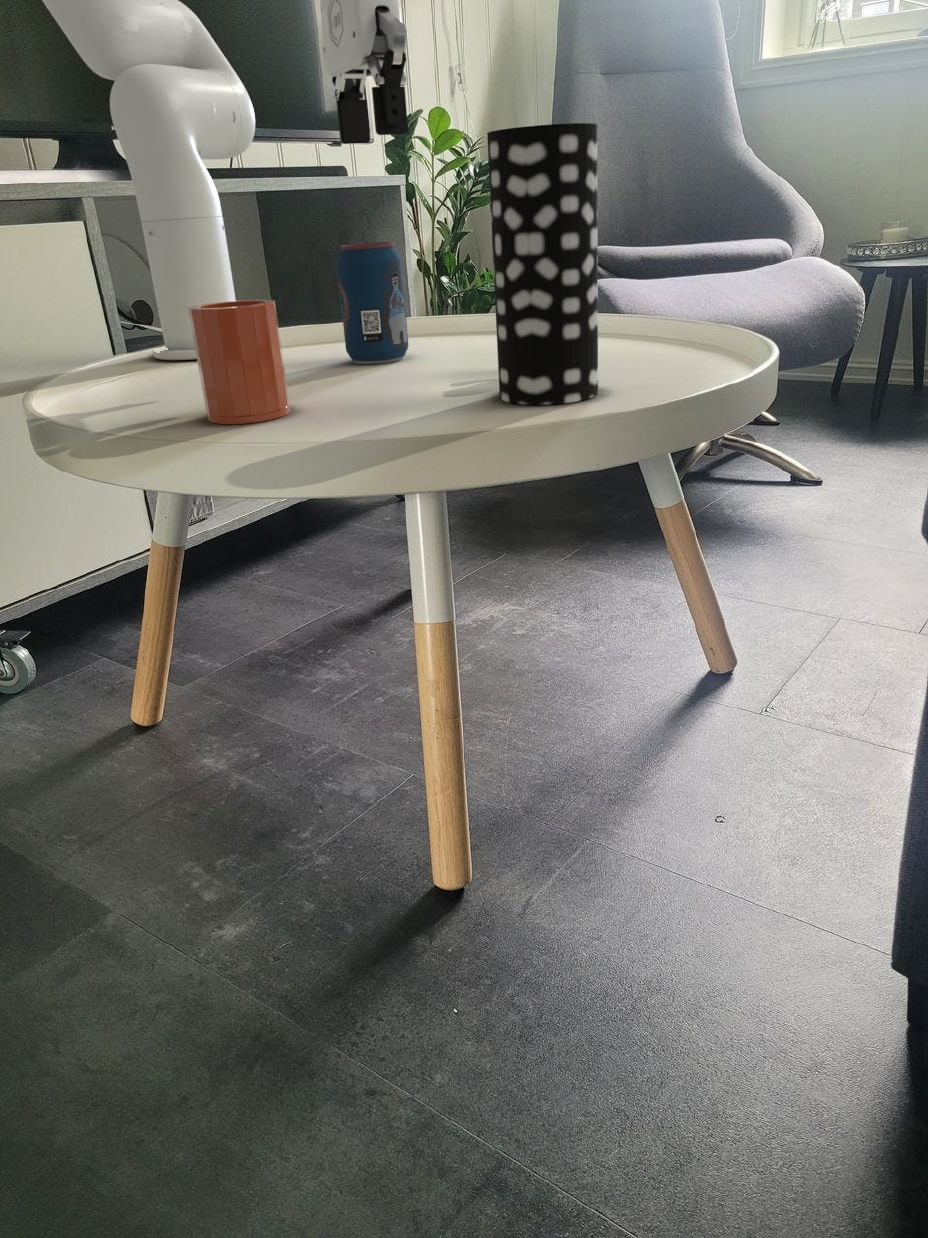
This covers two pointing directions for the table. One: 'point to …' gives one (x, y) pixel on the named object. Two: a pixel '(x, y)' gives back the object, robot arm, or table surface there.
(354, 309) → the soda can
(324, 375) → the table surface
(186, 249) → the robot arm
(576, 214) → the spotted tube
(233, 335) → the coffee cup
